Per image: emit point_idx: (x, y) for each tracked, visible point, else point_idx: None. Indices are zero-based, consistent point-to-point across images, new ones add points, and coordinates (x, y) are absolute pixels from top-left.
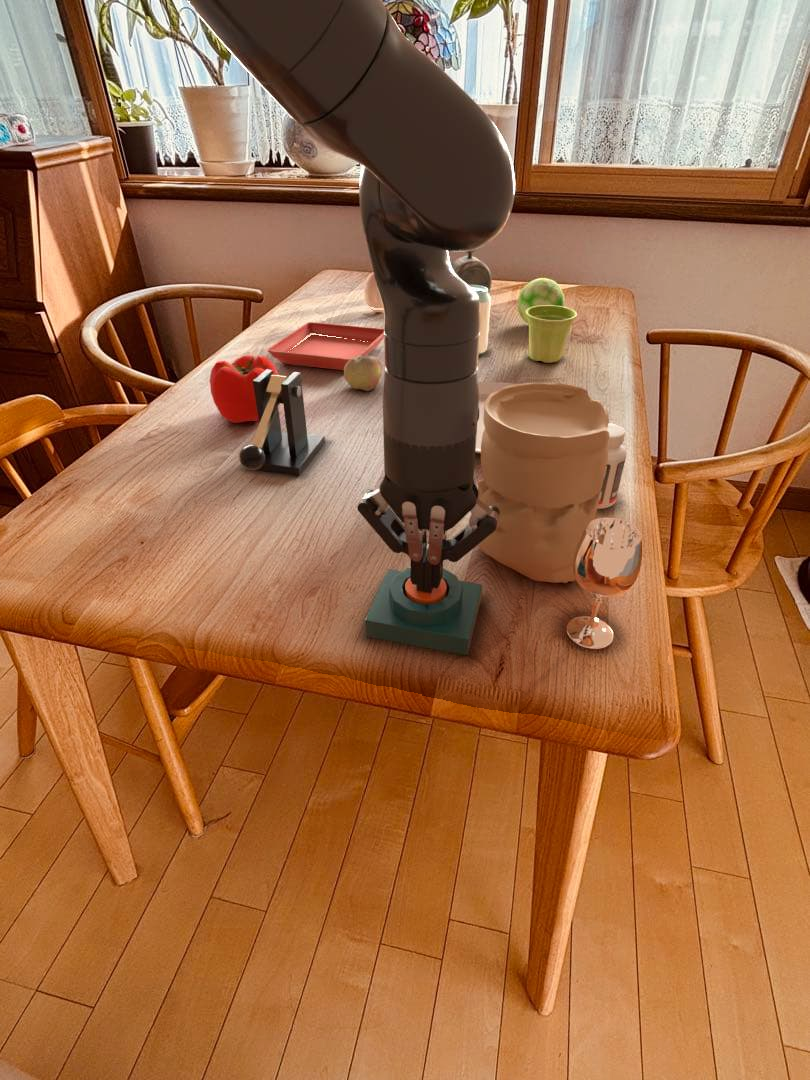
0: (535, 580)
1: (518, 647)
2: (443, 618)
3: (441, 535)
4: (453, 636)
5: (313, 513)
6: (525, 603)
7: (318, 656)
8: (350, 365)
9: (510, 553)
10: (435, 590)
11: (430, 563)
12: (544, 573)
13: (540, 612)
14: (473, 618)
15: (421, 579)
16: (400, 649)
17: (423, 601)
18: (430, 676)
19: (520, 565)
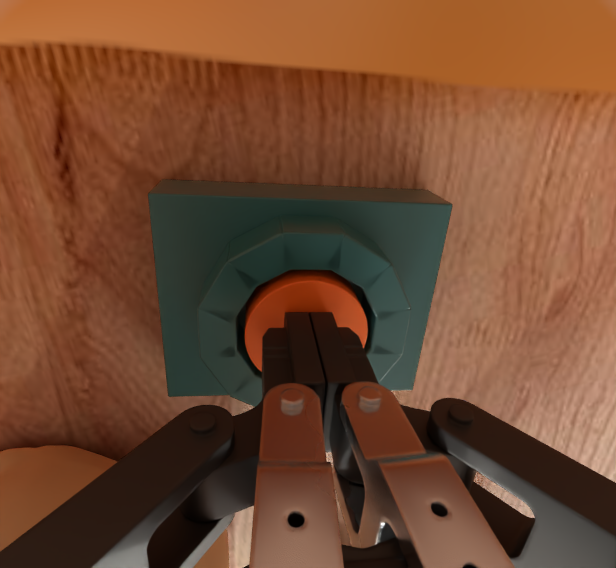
0: (65, 445)
1: (39, 237)
2: (235, 244)
3: (259, 531)
4: (195, 194)
5: None
6: (70, 378)
7: (538, 96)
8: None
9: None
10: (275, 326)
11: (302, 386)
12: (24, 466)
13: (25, 360)
14: (157, 276)
15: (324, 335)
16: (336, 165)
17: (303, 278)
18: (241, 82)
19: (84, 474)
